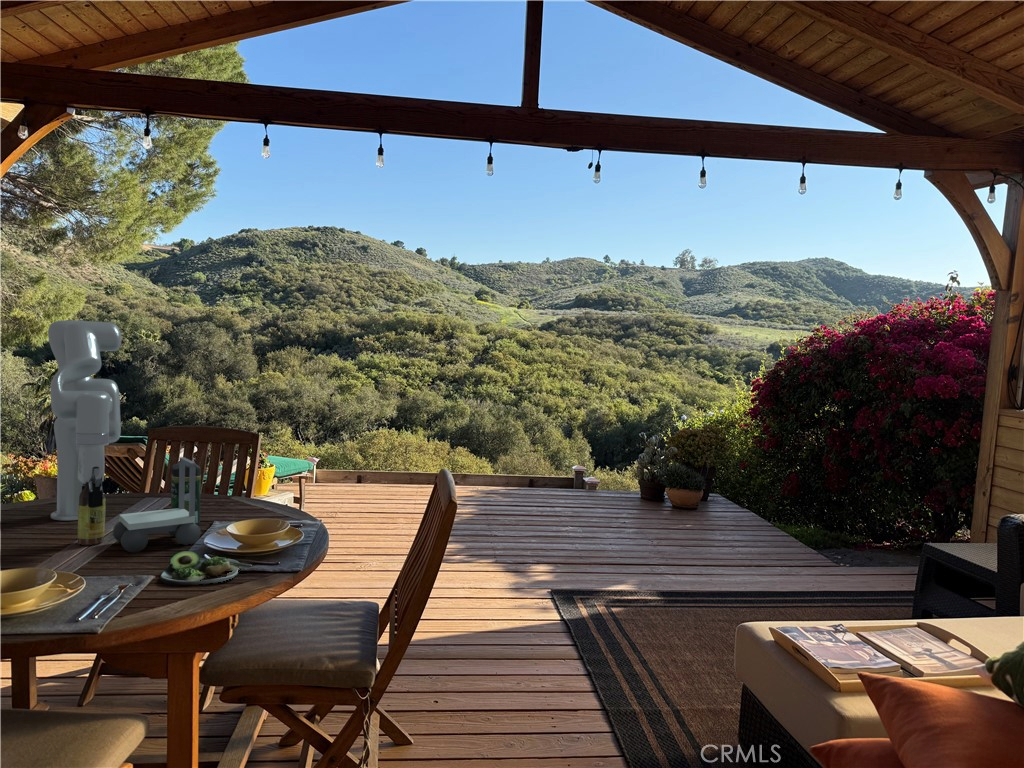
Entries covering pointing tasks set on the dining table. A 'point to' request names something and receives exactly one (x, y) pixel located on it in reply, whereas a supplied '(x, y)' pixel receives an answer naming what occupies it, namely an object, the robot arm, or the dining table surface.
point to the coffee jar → (176, 489)
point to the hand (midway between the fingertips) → (91, 503)
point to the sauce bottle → (90, 520)
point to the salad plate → (198, 569)
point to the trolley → (162, 518)
